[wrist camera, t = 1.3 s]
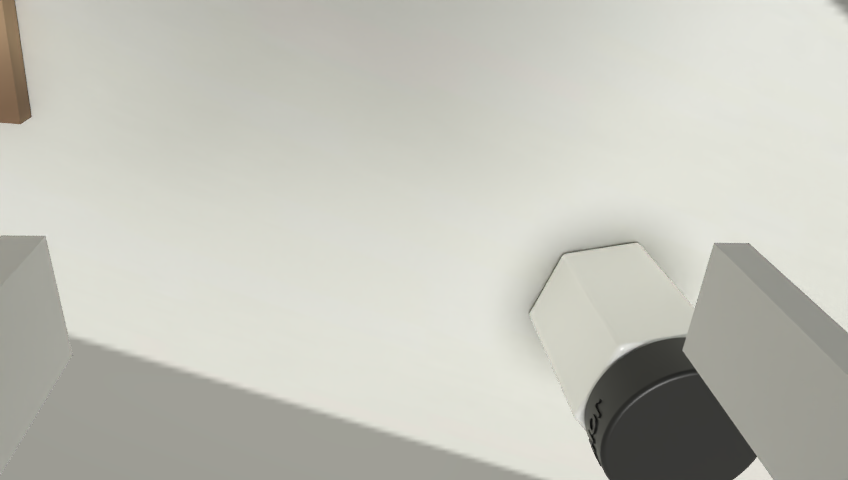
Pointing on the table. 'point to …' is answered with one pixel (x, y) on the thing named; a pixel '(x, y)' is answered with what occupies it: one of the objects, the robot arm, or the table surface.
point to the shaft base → (12, 68)
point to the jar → (634, 369)
